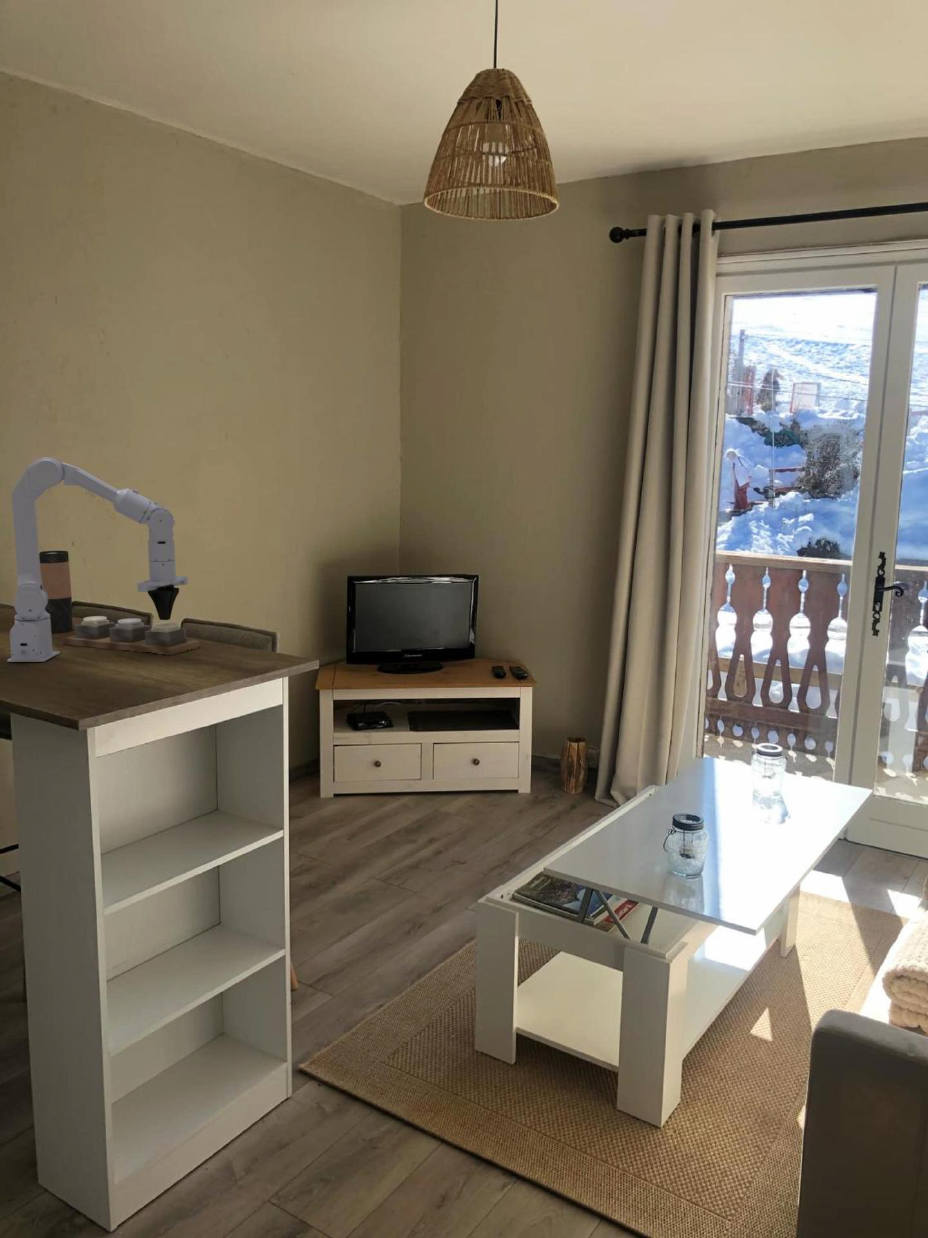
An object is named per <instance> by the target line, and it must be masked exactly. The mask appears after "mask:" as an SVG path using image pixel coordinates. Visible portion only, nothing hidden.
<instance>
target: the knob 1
mask: <svg viewBox="0 0 928 1238" xmlns="http://www.w3.org/2000/svg"><path fill="white" fill-rule="evenodd" d="M82 619H83V620H82V621H81V622H80V624H81V625H87V626H99V625H104V624H109V622H110V620H108V618H107V616H104V615H96V616H95V615H94V616H93V615H92V616H86V617H83V618H82Z"/></svg>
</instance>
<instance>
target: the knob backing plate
mask: <svg viewBox="0 0 928 1238" xmlns="http://www.w3.org/2000/svg"><path fill="white" fill-rule="evenodd" d="M116 624H117V623H116V622H110V621H109V624H104V625H99V626H87V625H81V623H79V624H75V625H74V628H75V629H74V630H75V635H71V636H67V637H62V644H63V645H66V646H75V647H76V646H77V647H85V648H95V649H106V650H112V651H113V650H115V651H123V650H130V651H129V652H133V651H137V652H136V653H143V652H152V653H157V654H156V655H162V654H165V655H164V656H174V655H177V654H181V652H182V653H185V652H188V651H187V650H189V651H192V650H191V649H193V650H197V649H199V648H198V647H200V648H201V642H200V640H193V639H191V640H190V639H187V628H181V627H180V630H176V631H172V632H168V633H164V632H153V631H151V625H147V624H144V627H139V628H135V629H120V628H116ZM152 653H151V654H152Z"/></svg>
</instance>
